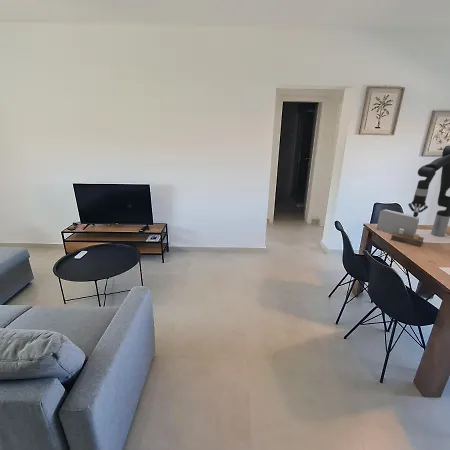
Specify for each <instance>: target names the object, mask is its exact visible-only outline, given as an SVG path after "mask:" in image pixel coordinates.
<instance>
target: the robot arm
mask: <svg viewBox="0 0 450 450" xmlns="http://www.w3.org/2000/svg"><path fill="white" fill-rule="evenodd" d="M441 155H442V156H440V157H438V158H435V159H434V160H433V161H431V162H430V163H427V164H425V165H422V166H420V167H419V169H418V171H417V175H418V176H419V177H422V178H425V179H420V180H418V182H417V184H416V185H417V186H416V189H415V192H414V196H413V199H412V201H411V203H408V204H407V205H408V207H409V209H410V210H411V211H412V212H413V215H412V216H414V217H418V216H419V213H422V212H423V211H425V210H426V209H428V208H429V206H428V205H427V204H426V201H427V196H428V192H429V187H430V184H431V182H432V181H433V179H434V177H435V175H436V174H437V171H438V170H440V169H441V175H440V187H439V194H438V198H437V206H439V207H442V208H445V209H443V210H437V212H436V214H435V215H436V216H435V218H434V222H433V225H432V228H431V233H430V234H431V235H432V236H438V237H444V236H445V234H446V232H447V228H448V225H449V222H450V195H449V196H448V195H446V194H447V192H448V190H449V189H450V145H446V146H444V147H443V150H442V154H441Z"/></svg>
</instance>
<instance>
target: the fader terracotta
mask: <svg viewBox="0 0 450 450" xmlns="http://www.w3.org/2000/svg"><path fill="white" fill-rule="evenodd" d="M419 237H420V234H417V233H416V234H414V237H413V239H415V240H418V238H419Z"/></svg>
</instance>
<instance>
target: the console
mask: <svg viewBox="0 0 450 450" xmlns="http://www.w3.org/2000/svg"><path fill="white" fill-rule="evenodd" d="M413 237H414V235H409V234H405V233H403V234H399V232H396V231H395V232H394V233H393V234H391V238H390V241H394V242H398V243H403V244H408V245H410V246H411V245H412V246H416V247H420V248H421V247H422V245H423V243H424V239H425V237H422V236H419V238H418V240H415V239H413Z"/></svg>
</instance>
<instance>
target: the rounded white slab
mask: <svg viewBox="0 0 450 450" xmlns="http://www.w3.org/2000/svg"><path fill="white" fill-rule="evenodd" d="M419 223H420V219H419V217H418V216H417V217H414V216H413V215H411V214H407V213H403V212H399V211H394V210H389V209H383V210H380V211H379V215H378V220H377V224H376V229H377V230H378V229H379V230H378V231H381V230H382V232H384V231H385V233H387V234H391V235H393V233H394V232H395V231H396V232H399V229H400V228H401V229H404V232H403V233H405V234H409V235H414V234H417V230H418V226H419Z"/></svg>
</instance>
